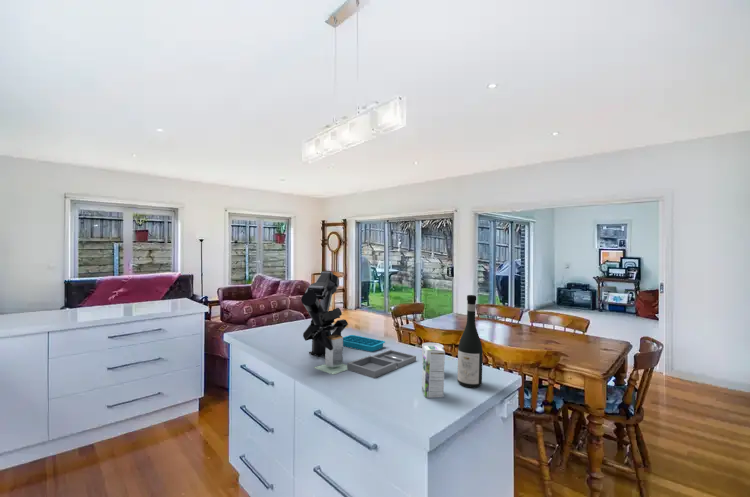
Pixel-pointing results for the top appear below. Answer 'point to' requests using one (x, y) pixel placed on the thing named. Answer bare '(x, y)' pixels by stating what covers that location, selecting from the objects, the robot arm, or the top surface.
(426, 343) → the white cup
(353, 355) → the top surface
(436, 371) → the syrup box
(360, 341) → the ice cube tray
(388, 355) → the rod
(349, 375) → the top surface
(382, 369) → the grey compartment tray
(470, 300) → the wine bottle
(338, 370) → the mat
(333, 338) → the block
